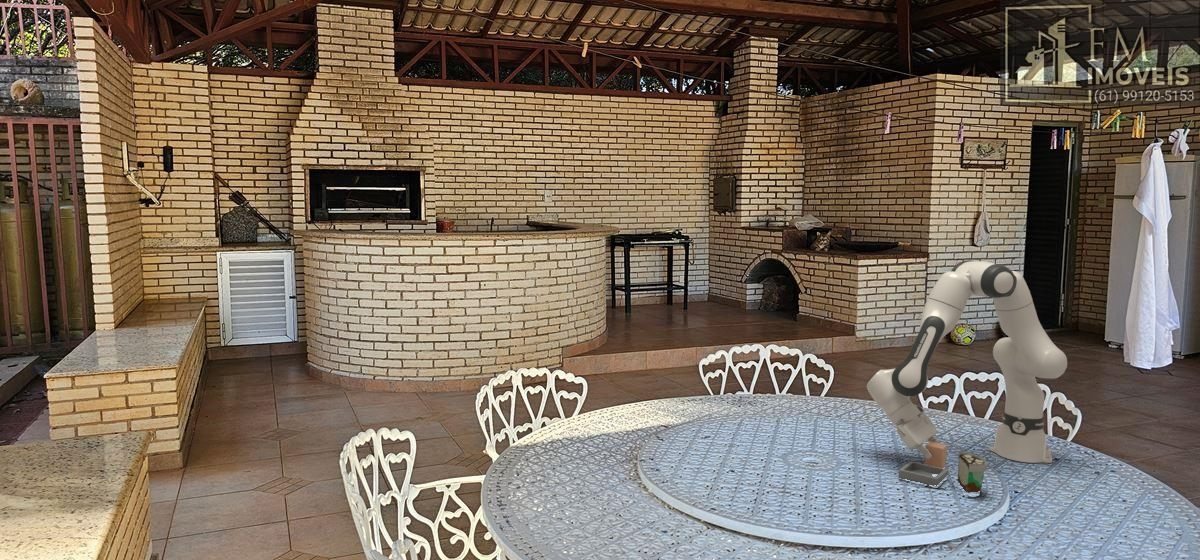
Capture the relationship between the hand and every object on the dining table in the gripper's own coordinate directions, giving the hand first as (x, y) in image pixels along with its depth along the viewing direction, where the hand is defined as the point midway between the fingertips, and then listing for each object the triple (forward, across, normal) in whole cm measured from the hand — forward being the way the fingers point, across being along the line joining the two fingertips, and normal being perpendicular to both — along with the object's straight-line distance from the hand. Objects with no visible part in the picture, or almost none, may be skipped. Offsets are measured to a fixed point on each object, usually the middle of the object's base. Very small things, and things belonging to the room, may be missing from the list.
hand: (935, 453), depth 239 cm
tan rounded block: (+4, 0, +4) cm, 5 cm away
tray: (+4, -12, +3) cm, 13 cm away
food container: (+14, -12, -6) cm, 19 cm away
